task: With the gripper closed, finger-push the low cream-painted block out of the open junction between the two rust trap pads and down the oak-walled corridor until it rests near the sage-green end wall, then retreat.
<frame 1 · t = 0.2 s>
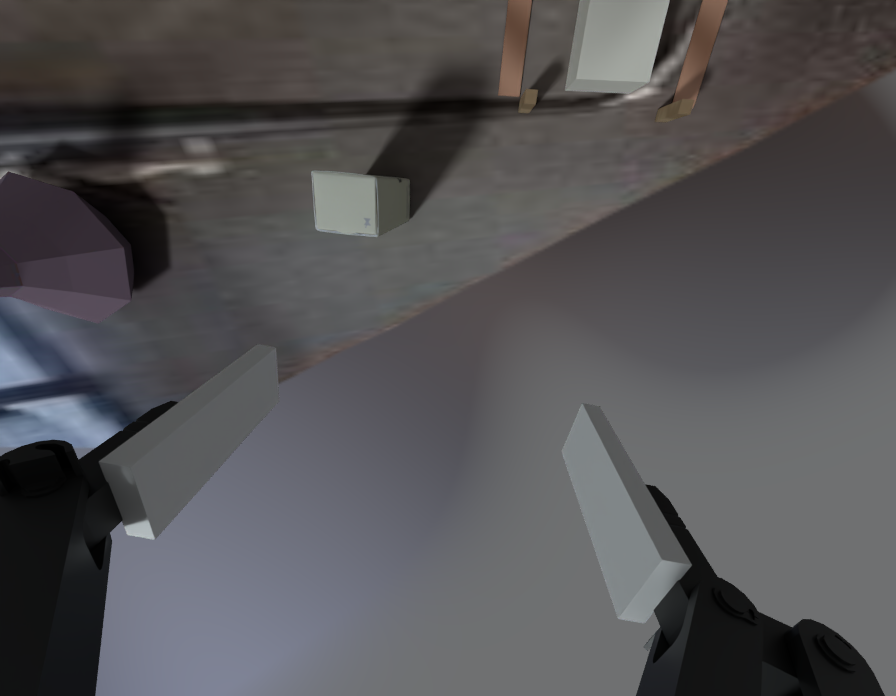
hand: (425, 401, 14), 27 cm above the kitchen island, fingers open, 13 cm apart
box: (386, 198, 37), on the kitchen island
flask: (98, 247, 41), on the kitchen island
cream block: (608, 29, 29), on the kitchen island
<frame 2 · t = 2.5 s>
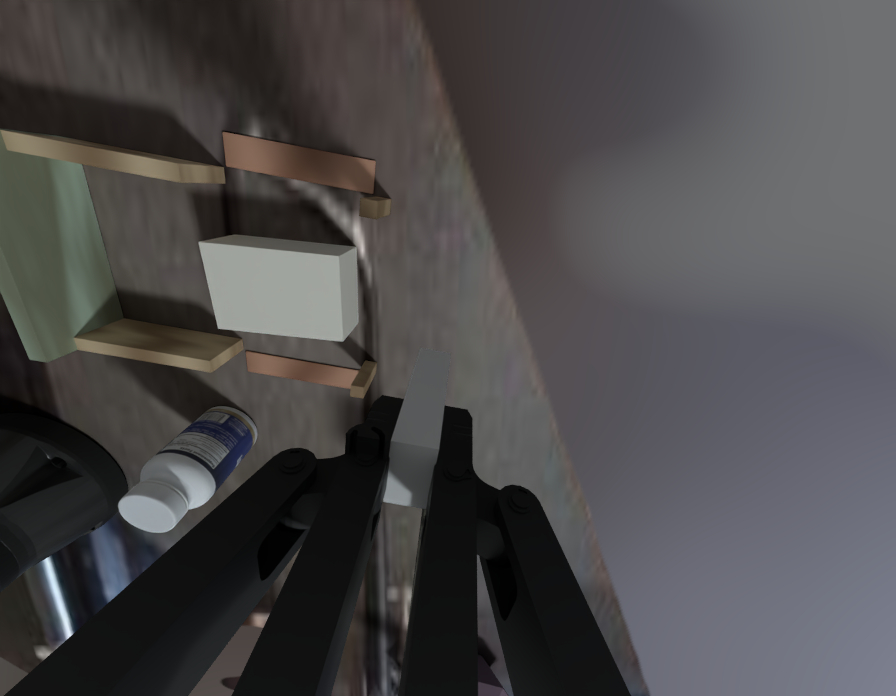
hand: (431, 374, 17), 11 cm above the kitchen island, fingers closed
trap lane: (247, 271, 26), on the kitchen island
flask: (458, 663, 51), on the kitchen island
cream block: (301, 279, 26), on the kitchen island
pill bottle: (233, 425, 33), on the kitchen island
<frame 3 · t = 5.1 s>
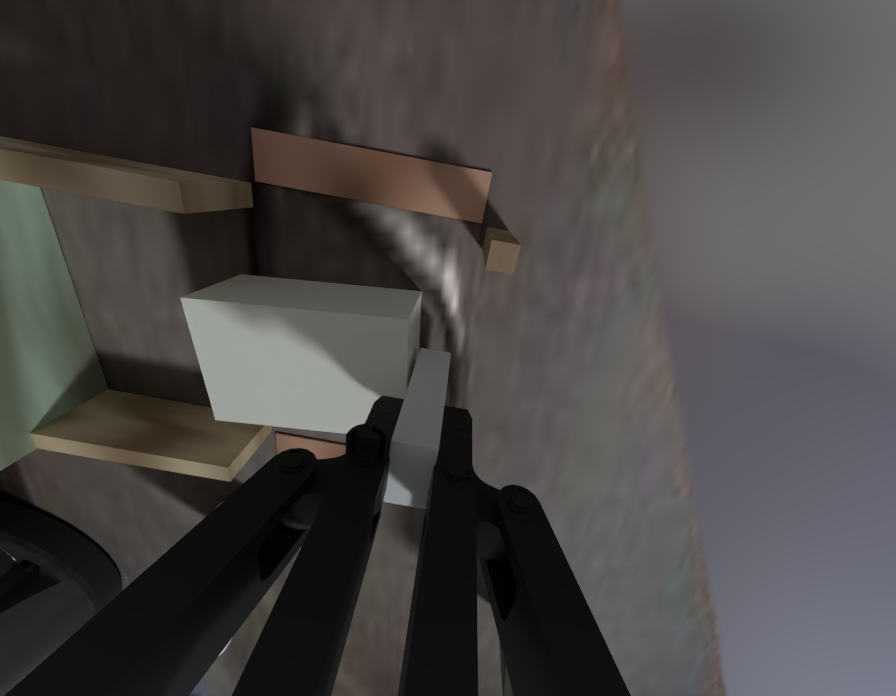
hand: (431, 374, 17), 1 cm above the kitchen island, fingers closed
box: (530, 596, 27), on the kitchen island
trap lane: (282, 331, 18), on the kitchen island
cream block: (336, 336, 18), on the kitchen island
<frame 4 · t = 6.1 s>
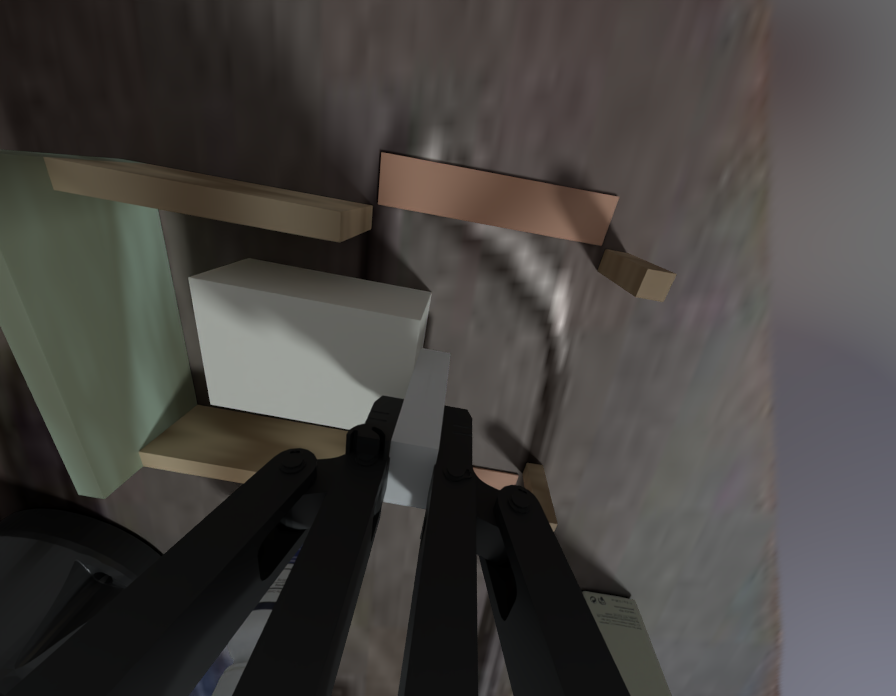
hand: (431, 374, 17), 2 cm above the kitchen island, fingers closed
box: (594, 607, 27), on the kitchen island
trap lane: (382, 349, 18), on the kitchen island
cream block: (339, 329, 18), on the kitchen island
pill bottle: (326, 529, 25), on the kitchen island
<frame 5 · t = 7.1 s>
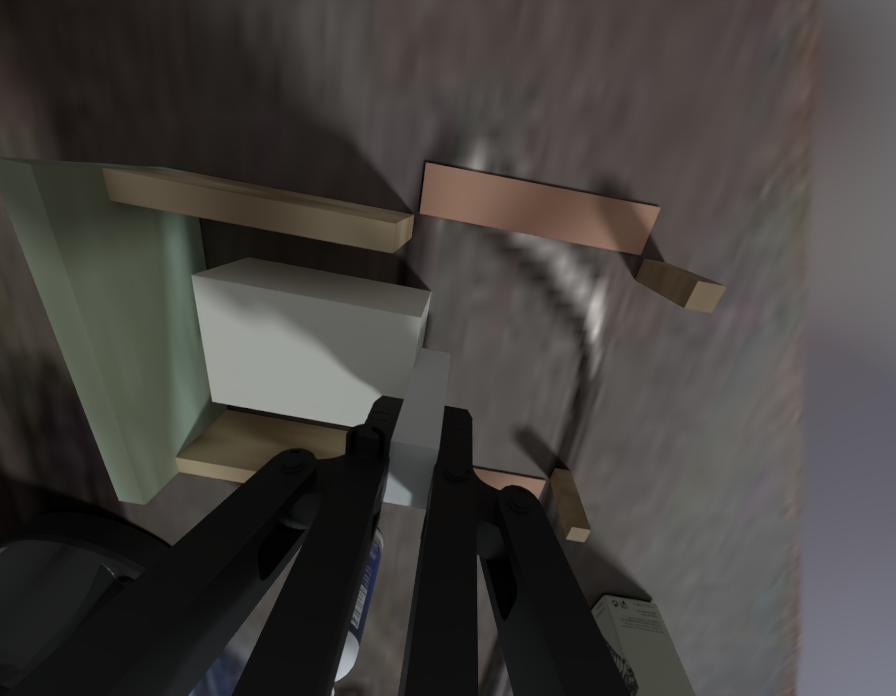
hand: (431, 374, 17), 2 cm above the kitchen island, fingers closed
box: (614, 610, 27), on the kitchen island
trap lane: (416, 356, 18), on the kitchen island
cream block: (340, 327, 18), on the kitchen island
pill bottle: (350, 533, 25), on the kitchen island
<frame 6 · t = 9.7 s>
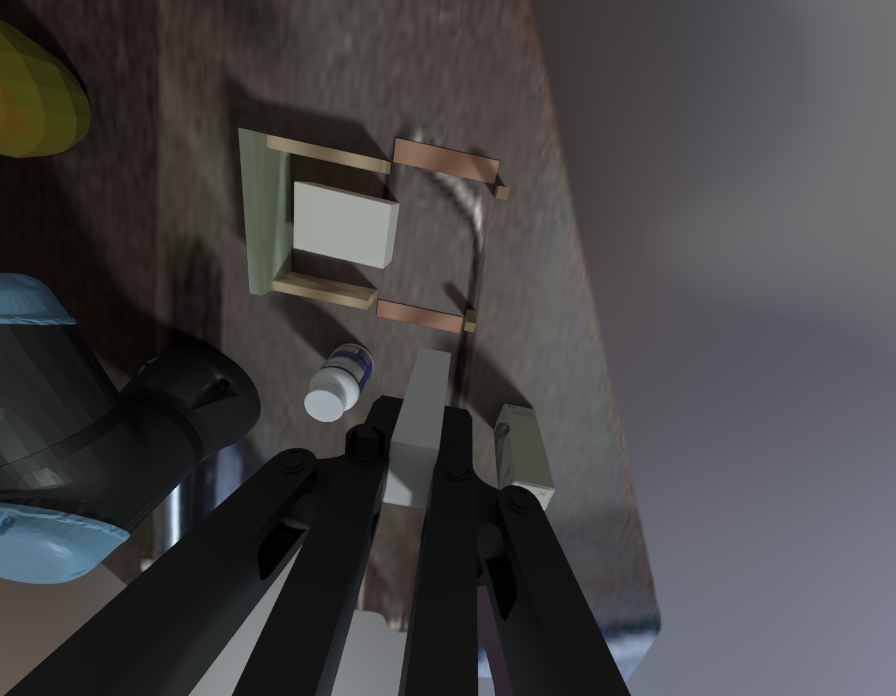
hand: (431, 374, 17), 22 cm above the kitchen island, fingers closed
box: (513, 419, 45), on the kitchen island
apple: (66, 102, 32), on the kitchen island
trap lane: (392, 238, 36), on the kitchen island
flask: (500, 582, 61), on the kitchen island
cream block: (354, 223, 35), on the kitchen island
pill bottle: (354, 360, 43), on the kitchen island
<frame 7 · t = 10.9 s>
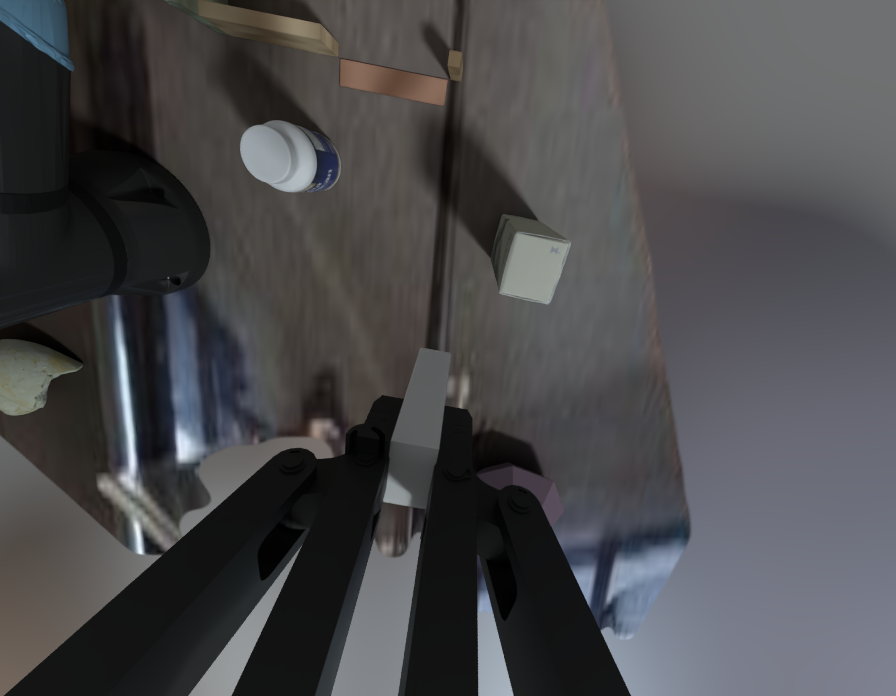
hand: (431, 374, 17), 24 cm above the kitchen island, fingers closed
seashell: (48, 362, 49), on the kitchen island
box: (514, 241, 37), on the kitchen island
flask: (505, 483, 53), on the kitchen island
pill bottle: (317, 163, 35), on the kitchen island
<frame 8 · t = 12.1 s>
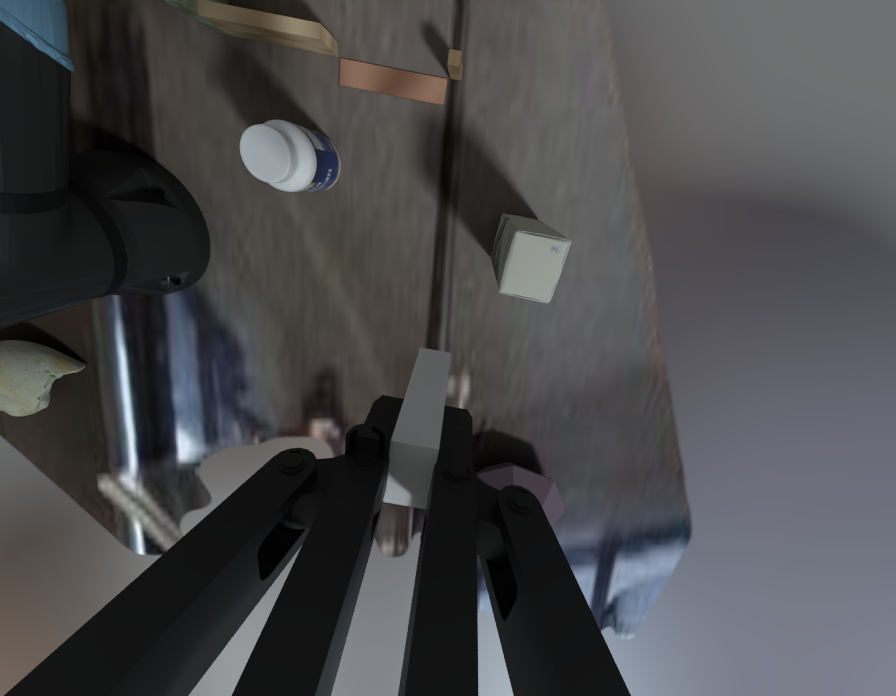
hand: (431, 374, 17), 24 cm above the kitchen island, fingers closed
seashell: (51, 363, 49), on the kitchen island
box: (514, 241, 37), on the kitchen island
flask: (505, 482, 53), on the kitchen island
pill bottle: (317, 162, 35), on the kitchen island
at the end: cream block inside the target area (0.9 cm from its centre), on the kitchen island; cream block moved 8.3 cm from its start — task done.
